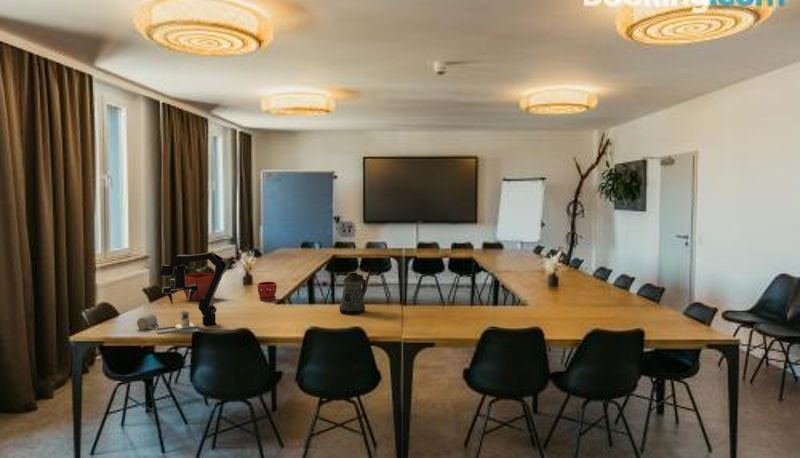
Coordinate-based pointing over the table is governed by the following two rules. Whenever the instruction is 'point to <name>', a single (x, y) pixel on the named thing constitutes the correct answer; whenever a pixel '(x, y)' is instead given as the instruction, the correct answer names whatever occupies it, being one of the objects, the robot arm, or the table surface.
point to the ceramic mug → (147, 322)
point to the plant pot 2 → (267, 290)
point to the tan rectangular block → (184, 318)
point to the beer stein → (353, 295)
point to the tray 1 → (166, 330)
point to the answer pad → (184, 326)
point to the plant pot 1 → (198, 284)
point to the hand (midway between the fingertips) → (180, 303)
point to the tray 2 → (189, 329)
